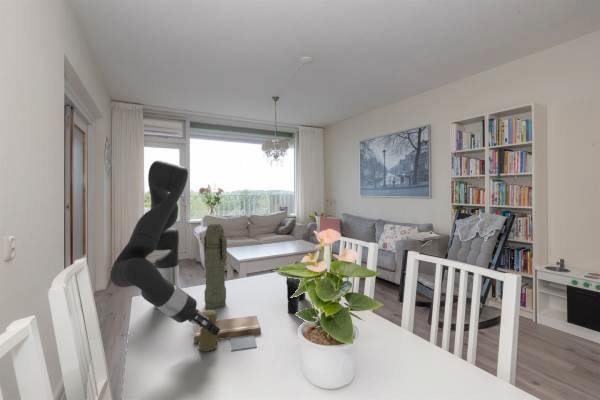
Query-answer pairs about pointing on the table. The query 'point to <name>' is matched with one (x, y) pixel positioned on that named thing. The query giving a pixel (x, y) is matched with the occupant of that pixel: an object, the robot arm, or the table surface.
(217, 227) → the thermos
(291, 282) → the ceramic cat
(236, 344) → the slate end mark
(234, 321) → the walnut board
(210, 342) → the olive game pawn
